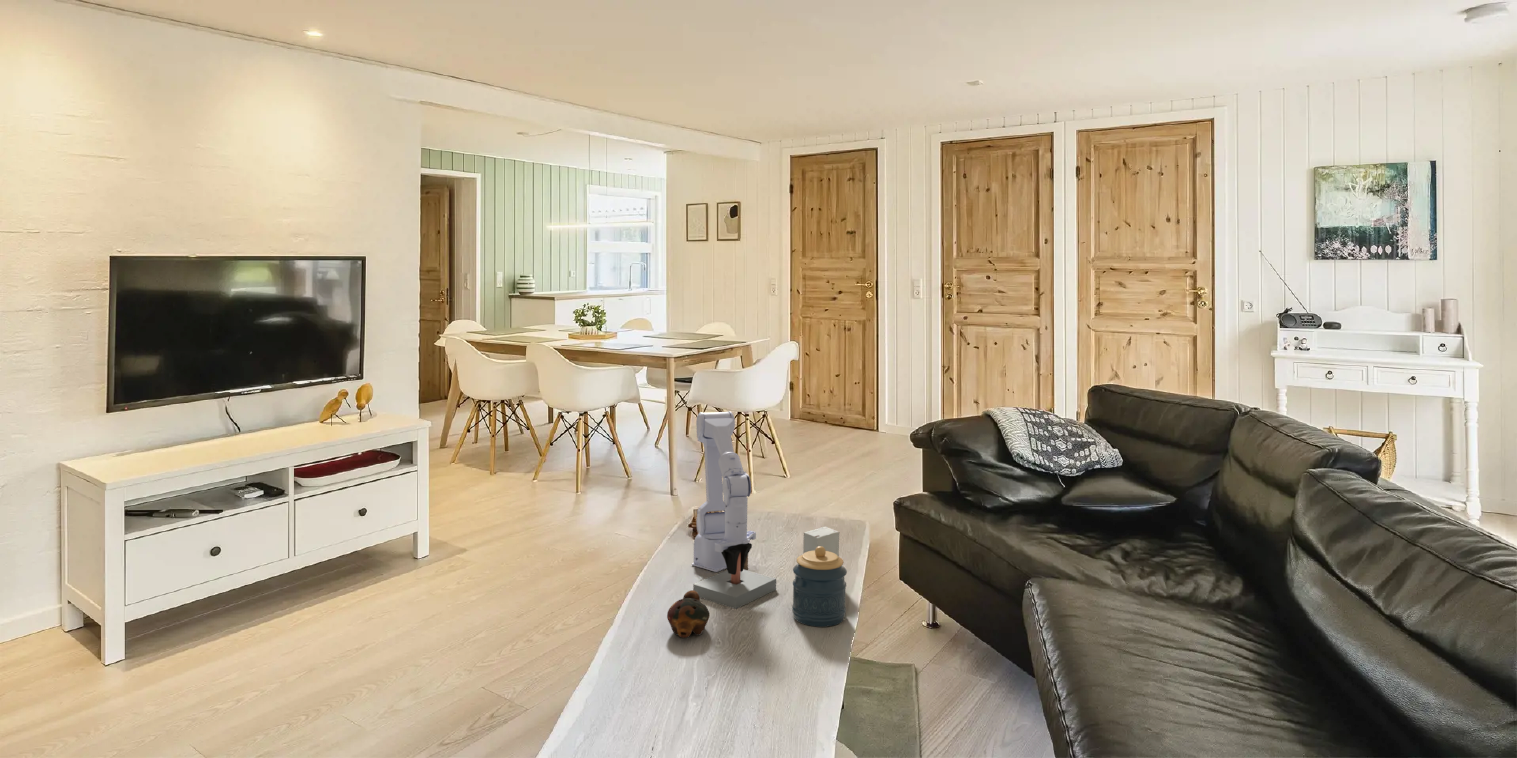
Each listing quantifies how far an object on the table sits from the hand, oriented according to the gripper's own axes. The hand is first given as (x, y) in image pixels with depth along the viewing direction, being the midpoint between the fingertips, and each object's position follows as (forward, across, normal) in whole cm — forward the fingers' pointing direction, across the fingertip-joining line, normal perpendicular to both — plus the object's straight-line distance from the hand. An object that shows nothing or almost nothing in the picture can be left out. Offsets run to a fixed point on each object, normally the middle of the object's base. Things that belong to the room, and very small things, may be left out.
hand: (735, 572), depth 219 cm
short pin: (+6, +15, +9) cm, 18 cm away
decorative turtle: (+6, -26, -7) cm, 28 cm away
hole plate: (+6, 0, 0) cm, 6 cm away
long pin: (+3, 0, 0) cm, 3 cm away
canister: (+6, 0, -26) cm, 26 cm away
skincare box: (+6, +19, -14) cm, 24 cm away
